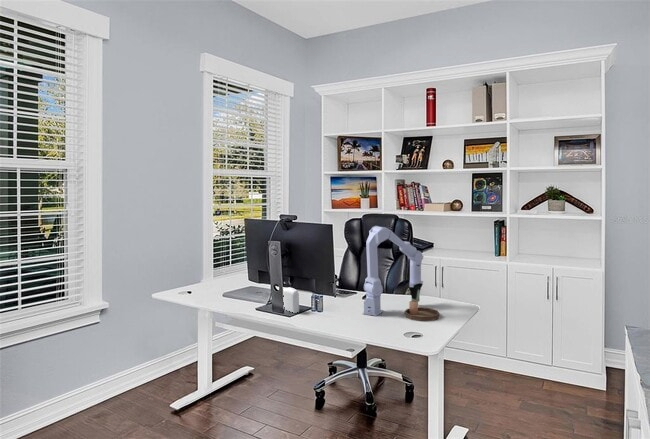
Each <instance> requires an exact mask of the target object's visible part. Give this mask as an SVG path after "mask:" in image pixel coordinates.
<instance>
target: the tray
mask: <svg viewBox="0 0 650 439" xmlns="http://www.w3.org/2000/svg"><path fill="white" fill-rule="evenodd" d="M404 316H405V318H406V319H408V320H411V321H412V320H413V321H418V322H419V321H420V322H431V321H436V320H439V318H440V312H439V310H438V309H434V308H430V307H424V306H423V307H422V306H421V307H419V306H418V315H410V312H409V308H406V310H404Z"/></svg>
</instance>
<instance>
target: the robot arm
mask: <svg viewBox="0 0 650 439" xmlns="http://www.w3.org/2000/svg"><path fill="white" fill-rule="evenodd" d="M368 233H369V235H368V237H367V239H366V241H365V242H366V244H365V246H366V247H365V248H366V267H367V268H366V270H367V277H366V278H364V280H365V281H364V284H363V290H364V292H365V296H366V298H365V300H364V301H363V312H362V315H367V316H368V315H369V316H374V317H375V316H376V317H377V316H379V315H380V314H382V313H383V312H384V309H381V305H382V304H381V296H382V294H383V291H384V287H383V285H382V281H381V279H380V278H379V257H378V246H379V245H380V244H381V243H383V242H384V241H387V240H389V241H390V242H392V243H394V245H396V246H398V247H399V251H400V252H401V253H402V254H404V255H406V256H407V259H408V260H409V284H408V285H407V288H408V289H409V292H410V296H411V297H412V299H416V298H417V292H418V289H419V290H420V291H421V290H422V287H423V285H424V280H422V260H424V255H423V253H422V251H420V250H417V247H415V246H413V245H412V244H411V242H410V241H403V240H402V239H401V238H400V237H398V235H397V234H395V233H394V232H393V230H390V229H389V228H388V227H385V226H379V225H374V226H372V227H371V229H370V230H369V231H368Z"/></svg>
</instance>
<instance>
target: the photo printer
mask: <svg viewBox="0 0 650 439" xmlns="http://www.w3.org/2000/svg"><path fill="white" fill-rule="evenodd" d="M283 295H284V297H282V298H283V300H282V302H284V305H283V308H284V307H285V310H284V311H286V310H287V311H286V312H289V311H290V313H292V312H293V313H292V314H298V313H299V312H300V294H299V291H298V290H297V289H295V288H293V287H289V286H288V287H284V288H283V291H282V296H283ZM297 312H298V313H297Z"/></svg>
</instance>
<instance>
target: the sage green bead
mask: <svg viewBox="0 0 650 439" xmlns="http://www.w3.org/2000/svg"><path fill="white" fill-rule="evenodd" d="M420 294H421V290H419V289H418V292H417V298H416V299H412V297H411V301H417V302H418V303H419V302H420Z"/></svg>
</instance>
